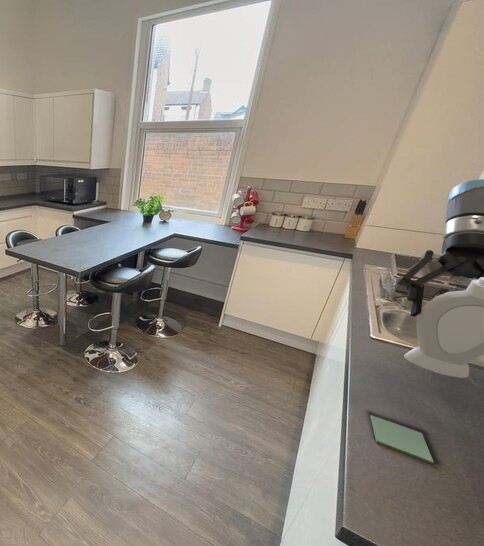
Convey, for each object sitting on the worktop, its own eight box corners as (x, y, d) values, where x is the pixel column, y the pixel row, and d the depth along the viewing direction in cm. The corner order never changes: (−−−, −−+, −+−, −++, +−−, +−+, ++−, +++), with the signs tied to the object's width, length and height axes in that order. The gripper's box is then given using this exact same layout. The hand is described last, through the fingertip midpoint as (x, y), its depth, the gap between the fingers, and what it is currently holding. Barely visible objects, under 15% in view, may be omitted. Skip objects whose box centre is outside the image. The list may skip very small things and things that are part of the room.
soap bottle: (472, 366, 70) (544, 270, 59) (480, 387, 65) (560, 286, 54) (394, 343, 77) (444, 254, 66) (395, 360, 72) (450, 267, 61)
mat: (420, 434, 72) (422, 433, 72) (432, 464, 65) (434, 462, 65) (370, 416, 77) (370, 414, 77) (376, 442, 70) (377, 440, 70)
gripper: (400, 223, 75) (387, 301, 69) (573, 241, 62) (575, 339, 56) (388, 239, 81) (375, 312, 75) (542, 259, 68) (541, 349, 62)
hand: (460, 324), depth 65 cm, fingers closed on soap bottle, 13 cm apart
